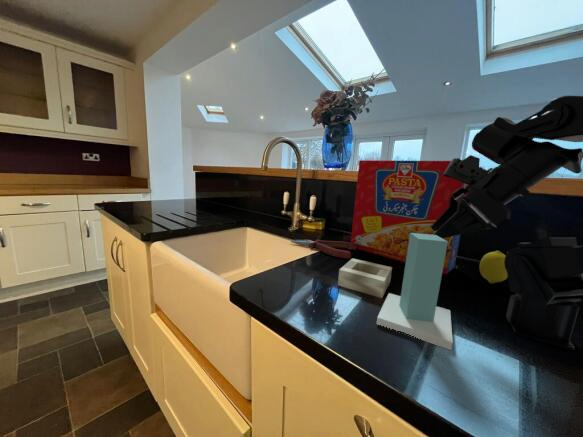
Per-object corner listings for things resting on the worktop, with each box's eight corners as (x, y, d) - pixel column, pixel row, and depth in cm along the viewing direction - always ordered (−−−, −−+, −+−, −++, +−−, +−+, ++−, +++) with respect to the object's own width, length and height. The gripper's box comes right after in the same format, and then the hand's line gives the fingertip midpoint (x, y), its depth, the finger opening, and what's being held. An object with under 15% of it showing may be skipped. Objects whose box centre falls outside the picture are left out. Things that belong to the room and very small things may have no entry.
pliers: (299, 240, 87) (299, 233, 86) (356, 250, 79) (357, 243, 78) (284, 248, 76) (285, 240, 76) (349, 261, 68) (350, 252, 68)
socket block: (390, 282, 55) (392, 267, 54) (382, 298, 47) (384, 281, 47) (350, 272, 59) (352, 258, 59) (337, 285, 52) (339, 269, 51)
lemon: (503, 282, 59) (510, 250, 57) (509, 291, 54) (517, 256, 52) (475, 276, 61) (481, 245, 60) (478, 284, 57) (485, 251, 55)
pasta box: (350, 246, 81) (359, 160, 76) (362, 243, 87) (371, 162, 82) (446, 274, 62) (467, 160, 57) (454, 267, 67) (474, 163, 62)
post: (423, 308, 42) (436, 235, 40) (433, 322, 38) (447, 241, 36) (399, 305, 42) (410, 232, 40) (406, 318, 39) (418, 238, 36)
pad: (448, 316, 42) (450, 310, 42) (451, 350, 34) (452, 342, 33) (387, 298, 47) (388, 292, 47) (376, 324, 39) (377, 317, 38)
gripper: (468, 149, 51) (405, 199, 57) (493, 131, 34) (401, 205, 41) (511, 188, 48) (441, 236, 55) (561, 188, 32) (451, 257, 38)
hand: (433, 232), depth 47 cm, fingers open, 9 cm apart
